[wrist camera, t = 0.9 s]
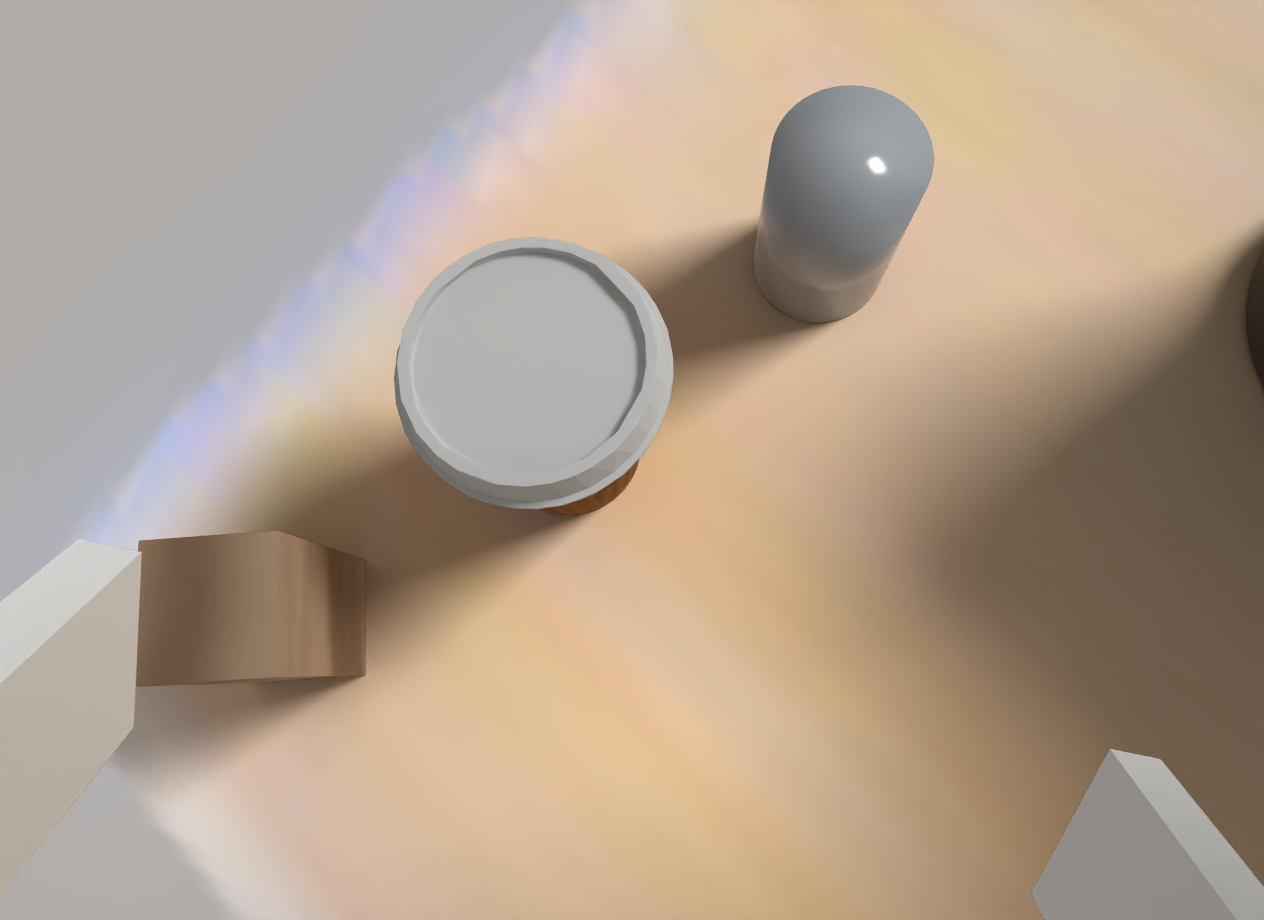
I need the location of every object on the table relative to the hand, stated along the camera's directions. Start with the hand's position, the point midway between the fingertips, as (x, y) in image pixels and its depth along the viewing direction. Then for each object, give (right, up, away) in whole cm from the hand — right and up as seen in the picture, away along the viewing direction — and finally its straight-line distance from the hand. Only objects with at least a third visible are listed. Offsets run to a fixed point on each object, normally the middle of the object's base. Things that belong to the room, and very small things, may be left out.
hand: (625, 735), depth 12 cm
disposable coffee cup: (-3, +4, +29) cm, 29 cm away
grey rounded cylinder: (+9, +13, +30) cm, 34 cm away
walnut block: (-14, -3, +28) cm, 31 cm away
